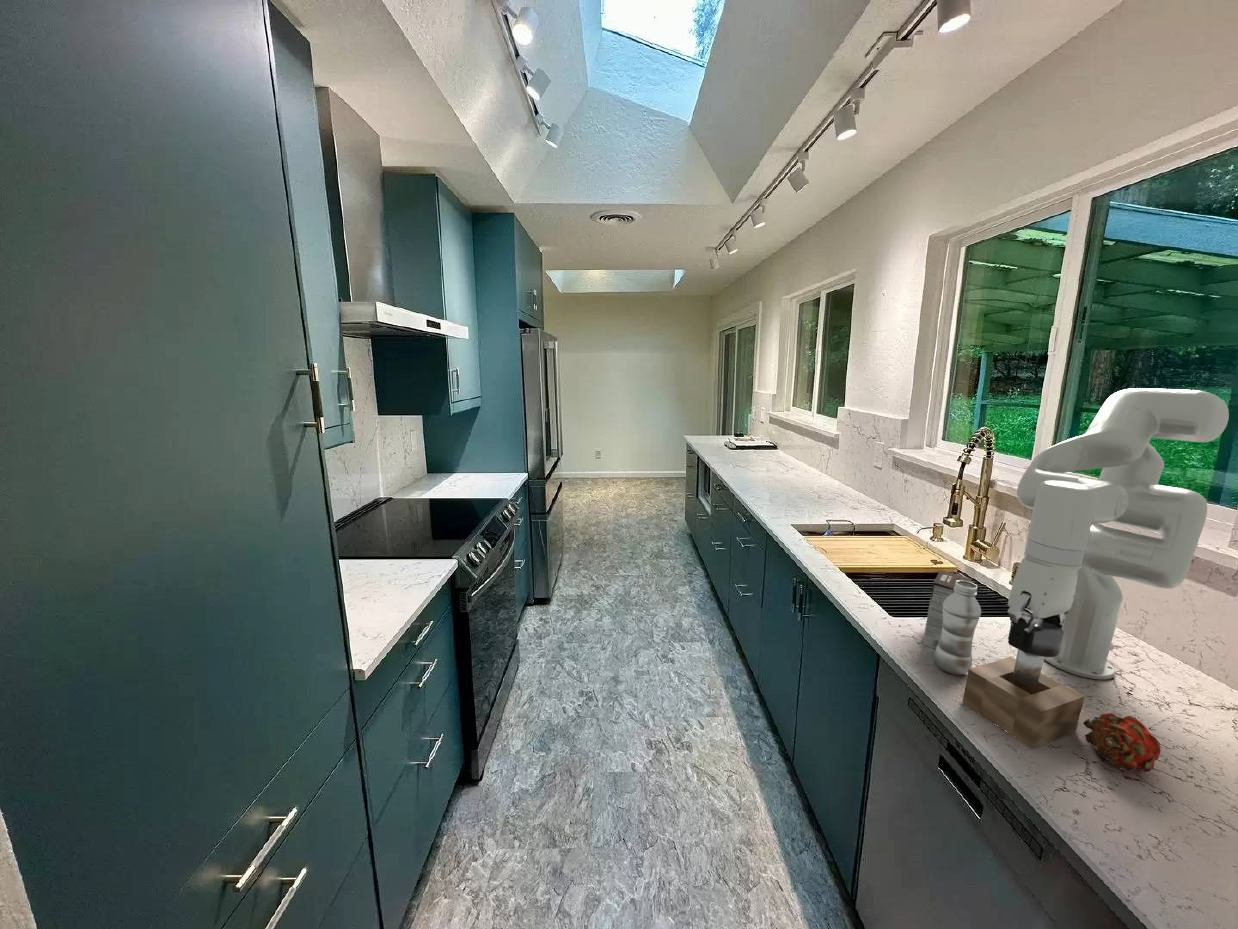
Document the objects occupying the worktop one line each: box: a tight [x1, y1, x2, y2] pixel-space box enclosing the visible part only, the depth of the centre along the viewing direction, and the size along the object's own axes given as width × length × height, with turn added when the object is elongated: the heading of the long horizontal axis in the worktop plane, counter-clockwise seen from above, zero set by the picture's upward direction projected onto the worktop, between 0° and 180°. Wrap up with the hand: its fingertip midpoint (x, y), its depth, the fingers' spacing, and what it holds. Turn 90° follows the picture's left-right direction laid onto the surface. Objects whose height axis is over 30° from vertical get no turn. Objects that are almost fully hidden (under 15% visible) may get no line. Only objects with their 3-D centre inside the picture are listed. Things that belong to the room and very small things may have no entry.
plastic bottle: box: [933, 580, 982, 676], centre depth 100 cm, size 6×7×20 cm
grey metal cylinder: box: [1007, 615, 1064, 686], centre depth 85 cm, size 7×7×11 cm
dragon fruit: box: [1082, 713, 1162, 773], centre depth 78 cm, size 8×8×12 cm
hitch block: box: [961, 656, 1085, 750], centre depth 88 cm, size 12×12×7 cm
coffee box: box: [922, 570, 973, 650], centre depth 110 cm, size 9×6×16 cm
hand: (1032, 643), depth 85 cm, fingers closed on grey metal cylinder, 7 cm apart
